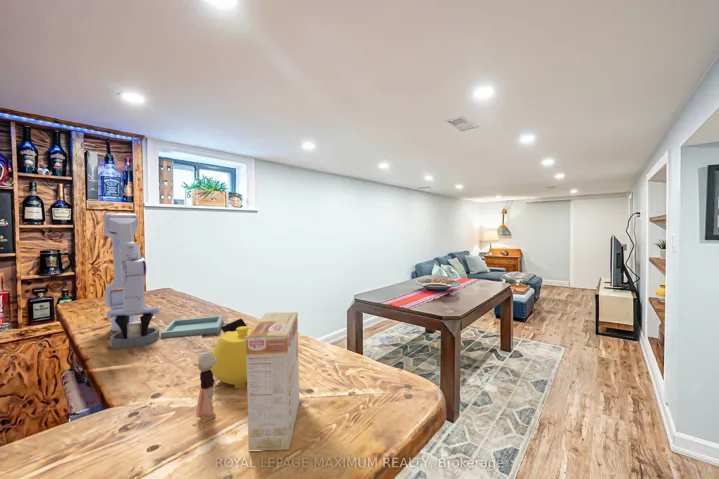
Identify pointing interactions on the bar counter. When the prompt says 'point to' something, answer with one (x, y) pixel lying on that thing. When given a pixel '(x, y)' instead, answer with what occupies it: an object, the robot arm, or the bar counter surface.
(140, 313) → the robot arm
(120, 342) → the grey rounded shallow piece
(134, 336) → the cylinder
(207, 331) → the tray
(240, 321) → the handheld gaming console
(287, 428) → the coffeecake box
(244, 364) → the teapot
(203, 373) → the grandmother figurine
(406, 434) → the bar counter surface
